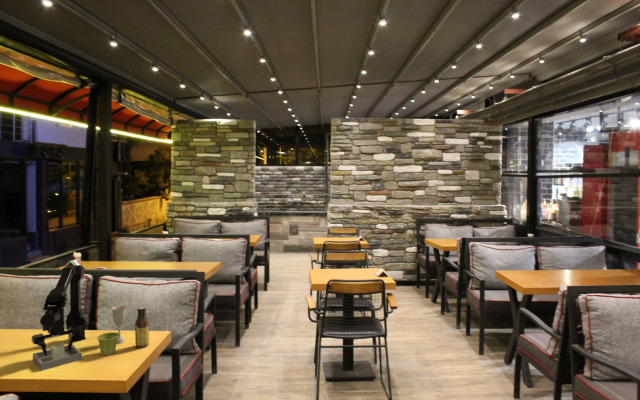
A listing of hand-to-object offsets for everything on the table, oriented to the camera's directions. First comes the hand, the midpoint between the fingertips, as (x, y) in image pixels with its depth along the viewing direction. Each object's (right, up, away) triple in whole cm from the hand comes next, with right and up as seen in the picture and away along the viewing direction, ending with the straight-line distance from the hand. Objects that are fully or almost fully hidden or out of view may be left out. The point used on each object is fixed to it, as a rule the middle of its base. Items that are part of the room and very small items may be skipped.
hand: (57, 352), depth 184 cm
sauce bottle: (+32, -3, +16) cm, 36 cm away
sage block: (0, -3, 0) cm, 3 cm away
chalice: (+18, -3, +22) cm, 28 cm away
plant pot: (+20, -3, +8) cm, 21 cm away
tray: (0, -3, 0) cm, 3 cm away
